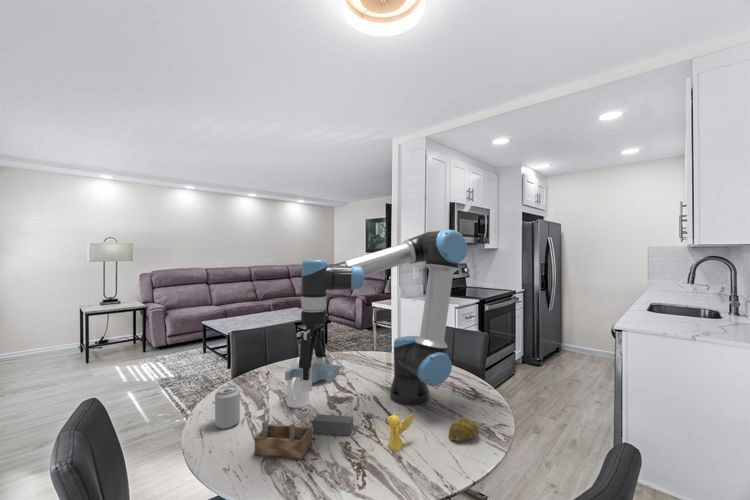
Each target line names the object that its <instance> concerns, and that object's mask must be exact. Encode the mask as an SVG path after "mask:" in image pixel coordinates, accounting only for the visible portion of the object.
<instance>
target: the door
mask: <svg viewBox="0 0 750 500" xmlns="http://www.w3.org/2000/svg"><path fill="white" fill-rule="evenodd" d="M311 368H312V384H313V383H314V384H315V383H317V382H318V381H317V380H318V379H321V380H325V381H326V382H325V383H326V384H327V385H331V384H332V383H333V381H334V380H335V379H336V378H337V377H338V376H339V374H340V365H339V364H332V365H328V364H313V363H311ZM284 374H285V375H284V381H287V380H288V381H289V380H290V379H291V378H293V377H300V381H301V382H302V368H299V361H297V362H296V363H295V364H294V365H291V367H289V368H288V369H287V370H286V371H285V372H284Z"/></svg>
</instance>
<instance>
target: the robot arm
mask: <svg viewBox="0 0 750 500" xmlns="http://www.w3.org/2000/svg"><path fill="white" fill-rule="evenodd" d="M467 254H468V243H467V241H466V238H464V236H463V234H461V232H460V231H457V230H454V229H443V230H435V231H426V232H423V233H422V234H418V235H416V236H414V237H411V238H409V239H405V240H403V241H402V243H400V244H396V245H395V246H391V247H388V248H387V247H386V248H384V249H381V250H377V251H374V252H371V253H367V254H364V255H360V256H357V257H354V258H350V259H347V260H344V261H341V262H338V263H333V264H332V263H331V264H328V262H327V260H326V259H305V260H303V261H302V267H301V274H300V275H301V298H300V300H299V301H300V302H301V309H302V310H301V314H300V316H301V317H300V318H301V319H300V322H301V324H303V325H305V330H304V332H301V333H300V340H301V342H300V351H299V358H300V360H299V359H298V362H299V368H302V390H303V391H309V392H311V391H312V390H313V389H312V385H313V382H312V368H311V362H312V356H313V350H314V351H315V356H316V357H315V358H314V364H323V358H322V357H326V354H325V353H326V350H327V349H326V339H325V323H326V322H327V311H326V309H327V291H338V290H339V291H342V290H351V291H354V290H360V289H362V288H363V286H364V283H365V277H367V276H370V275H374V274H377V273H380V272H383V271H386V270H388V269H389V270H390V269H392V268H394V267H399V266H402V265H405V264H410V265H413V264H415V263H422V262H424V263H425V266H426V268H427V269H428V275H427V284H426V290H425V299H424V304H423V313H422V320H421V324H420V331H419V332H420V333H419V335H410V336H408V335H406V336H400V337H399V336H398V337H396V338H395V339H394V341H393V373H394V374H393V375H394V376H393V379H392V382H391V385H390V389H389V397H390V399H391V400H392V401H393V402H395V403H398V404H400V405H407V406H408V405H409V406H410V405H411V406H412V405H420V404H421V405H422V404H423V403H426V402H427V401H428V400H429V399H430V391H429V387H428V385H429V386H431V387H432V386H433V387H434V386H435V387H436V386H439V385H442V384H443V383H444V382H445V381H446V380H448V378H449V377H450V375H451V374H452V373H451V372H452V368H453V364H452V359H450V357H449V355H448V344H447V343H446V342H445V336H446V329H447V320H448V315H449V306H450V300H451V292H452V285H453V276H454V273H456V272H457V271H458V270H459V266H460V263H461V262H463V261H464V259H466V256H467ZM325 349H326V350H325Z"/></svg>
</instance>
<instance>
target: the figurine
mask: <svg viewBox="0 0 750 500" xmlns="http://www.w3.org/2000/svg"><path fill="white" fill-rule="evenodd" d="M414 418H415V413H410V415H408V416H407V417H406V418H405V419H403V420H402V421H401V418H400V417H399V416H398V415H397V413H396V412H394V413H393V414H392V415H390V416H389V417H388V418H387V421H386V423H388V424H389V426H390V428H389V427H385V426H380V425H378V424H377V425H376V424H374V426H376V427H378V428H381V429H384V430H387V431H389V432H390V433H389V441H388V447H389V449H390V450H393V451H400V450H401V449H402V447H403V446H404V442H403V440H402V438H401V436H400V434H401V435H402V434H403V433H404V432H405V431H408V429H409V428H410V426H411V425H412V422H414Z"/></svg>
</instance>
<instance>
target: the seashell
mask: <svg viewBox="0 0 750 500" xmlns="http://www.w3.org/2000/svg"><path fill="white" fill-rule="evenodd" d="M479 433H480V429H479V426H478V424H477V423H476V422H475V420H473V419H472V418H470V417H467V416H464V417H459V418H457V419H455V420H454V421H453V422H452V424H451V425H450V427H449V431H448V440H449V441H450V442H451V441H455V442H456V443H459V442H464V441H465V440H470V441H471V440H475V439H476V438H477V437H478V435H479Z"/></svg>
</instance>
